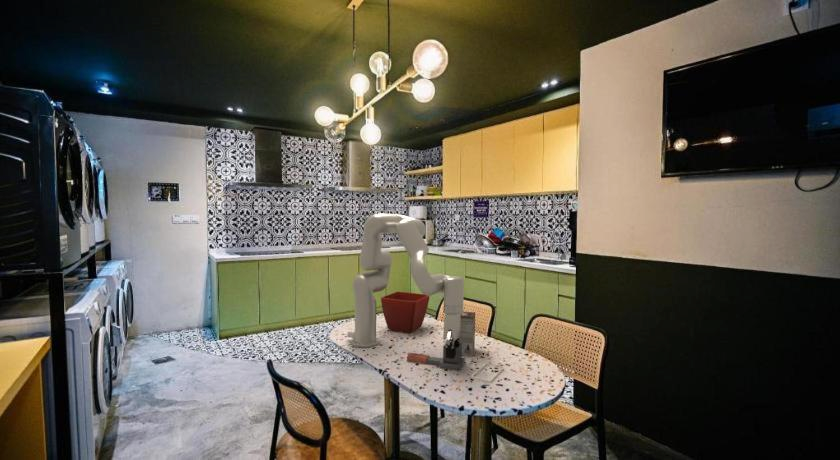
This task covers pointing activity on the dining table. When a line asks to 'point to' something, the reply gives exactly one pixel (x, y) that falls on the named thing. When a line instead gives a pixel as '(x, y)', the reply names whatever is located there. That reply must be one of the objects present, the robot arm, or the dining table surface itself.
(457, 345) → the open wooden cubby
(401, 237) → the robot arm
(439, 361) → the ratchet
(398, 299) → the plant pot
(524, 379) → the dining table surface
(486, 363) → the phone case
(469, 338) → the coffee box
